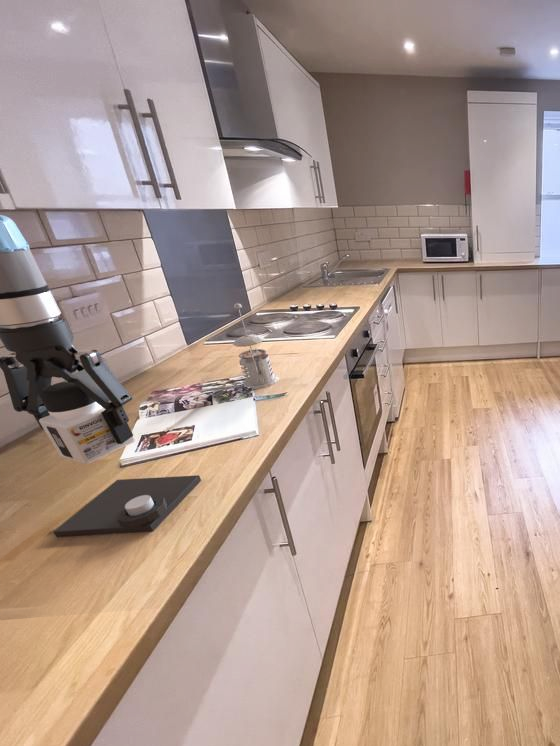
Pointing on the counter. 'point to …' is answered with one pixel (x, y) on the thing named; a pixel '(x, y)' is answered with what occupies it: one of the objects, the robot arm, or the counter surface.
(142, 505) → the button
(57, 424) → the container
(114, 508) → the scale
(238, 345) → the french press
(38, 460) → the counter surface
